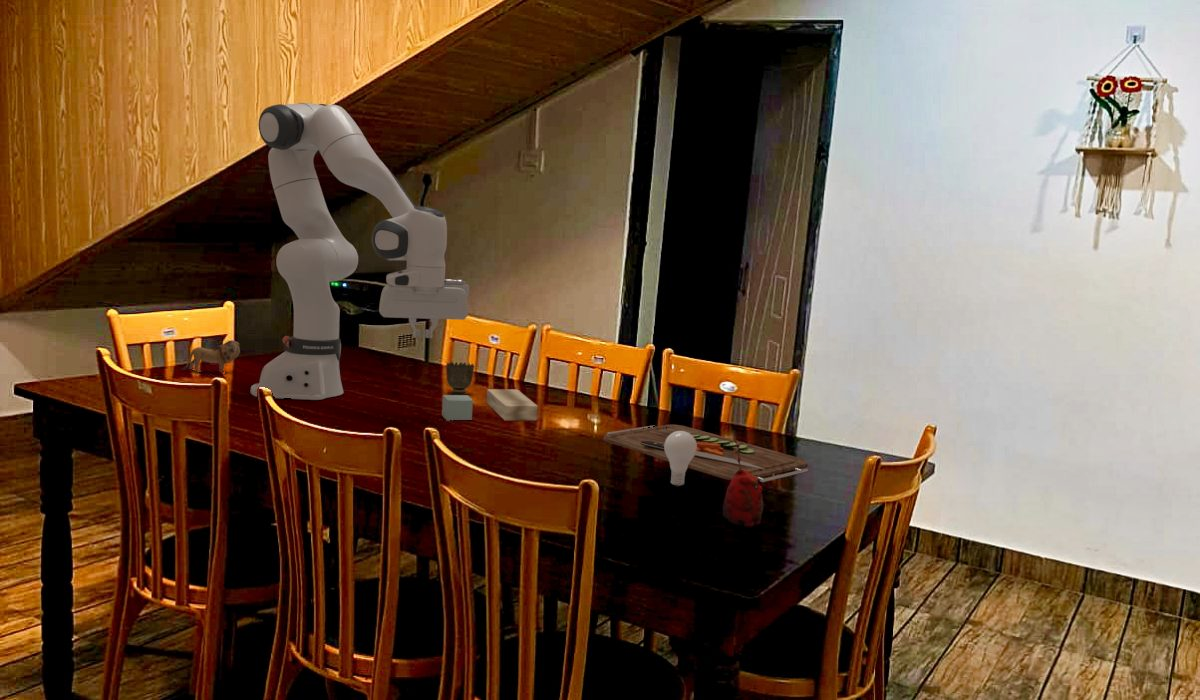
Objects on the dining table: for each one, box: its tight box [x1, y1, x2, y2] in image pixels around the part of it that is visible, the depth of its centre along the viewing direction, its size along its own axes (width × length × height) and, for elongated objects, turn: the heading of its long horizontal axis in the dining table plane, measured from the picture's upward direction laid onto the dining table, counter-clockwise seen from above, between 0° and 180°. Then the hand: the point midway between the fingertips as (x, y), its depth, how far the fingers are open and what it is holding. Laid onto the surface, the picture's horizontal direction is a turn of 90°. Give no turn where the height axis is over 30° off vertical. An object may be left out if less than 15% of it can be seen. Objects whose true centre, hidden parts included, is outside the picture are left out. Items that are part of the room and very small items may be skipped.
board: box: [485, 388, 539, 421], centre depth 258 cm, size 8×20×4 cm, turn 19°
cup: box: [445, 361, 475, 395], centre depth 274 cm, size 8×7×8 cm
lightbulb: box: [664, 431, 697, 488], centre depth 201 cm, size 6×6×11 cm
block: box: [441, 394, 474, 422], centre depth 246 cm, size 6×6×5 cm
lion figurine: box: [181, 339, 241, 373], centre depth 278 cm, size 15×5×9 cm, turn 104°
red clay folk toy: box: [722, 437, 764, 528], centre depth 182 cm, size 8×7×15 cm
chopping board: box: [603, 424, 809, 483], centre depth 231 cm, size 45×27×3 cm, turn 45°
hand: (422, 337), depth 241 cm, fingers closed
